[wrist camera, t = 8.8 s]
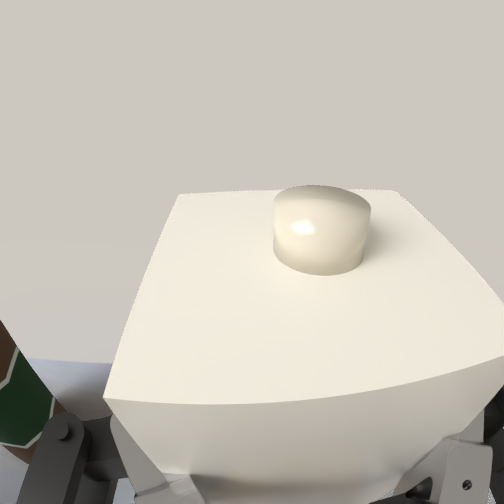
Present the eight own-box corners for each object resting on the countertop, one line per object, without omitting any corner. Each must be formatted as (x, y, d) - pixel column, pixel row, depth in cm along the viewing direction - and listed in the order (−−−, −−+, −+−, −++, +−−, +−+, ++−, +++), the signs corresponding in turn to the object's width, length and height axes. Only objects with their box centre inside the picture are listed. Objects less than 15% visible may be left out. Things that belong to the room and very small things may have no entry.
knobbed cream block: (210, 520, 9) (70, 344, 3) (213, 394, 14) (175, 161, 8) (374, 503, 9) (560, 297, 3) (345, 385, 14) (399, 160, 8)
